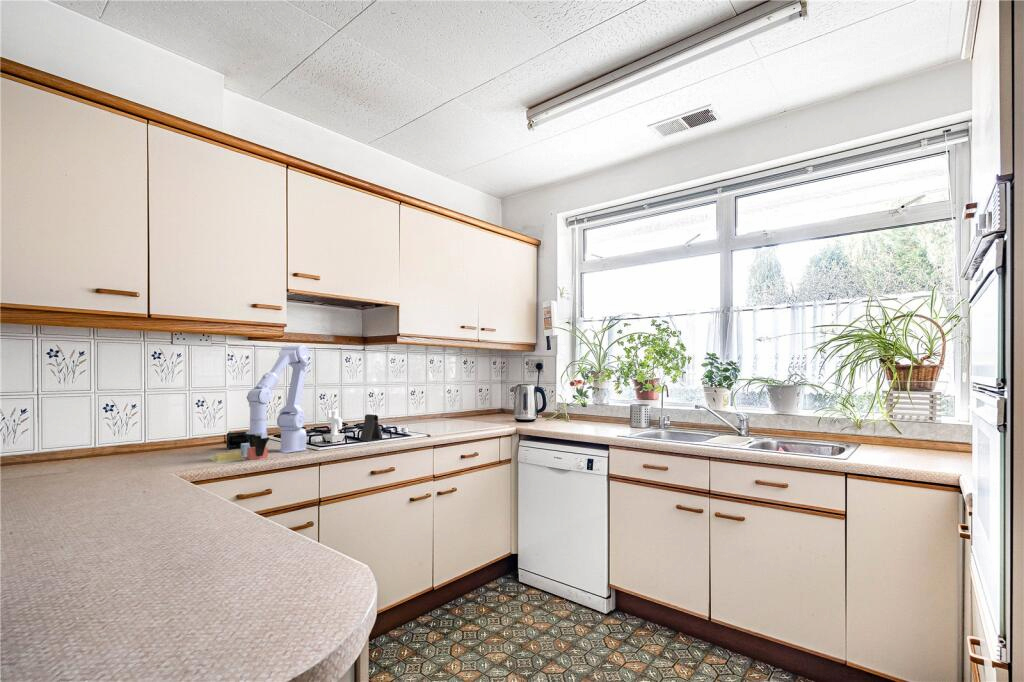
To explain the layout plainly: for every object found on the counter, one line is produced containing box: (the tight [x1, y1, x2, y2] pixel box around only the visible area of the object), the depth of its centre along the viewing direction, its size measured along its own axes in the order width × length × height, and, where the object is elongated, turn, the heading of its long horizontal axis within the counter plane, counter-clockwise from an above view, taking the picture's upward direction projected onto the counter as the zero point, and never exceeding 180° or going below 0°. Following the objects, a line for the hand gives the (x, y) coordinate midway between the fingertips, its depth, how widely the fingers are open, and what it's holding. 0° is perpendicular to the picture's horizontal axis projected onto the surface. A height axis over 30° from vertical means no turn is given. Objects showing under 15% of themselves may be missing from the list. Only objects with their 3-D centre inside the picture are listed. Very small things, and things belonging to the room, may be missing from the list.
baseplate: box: [210, 457, 246, 464], centre depth 193 cm, size 10×10×1 cm
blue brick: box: [240, 443, 250, 457], centre depth 202 cm, size 4×4×4 cm
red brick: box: [246, 445, 268, 461], centre depth 194 cm, size 6×4×4 cm, turn 135°
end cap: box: [226, 431, 251, 451], centre depth 217 cm, size 10×7×7 cm
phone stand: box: [359, 413, 383, 442], centre depth 241 cm, size 9×6×12 cm, turn 148°
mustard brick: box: [213, 450, 243, 461], centre depth 193 cm, size 8×5×2 cm, turn 135°
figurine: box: [322, 409, 346, 442], centre depth 233 cm, size 7×9×15 cm
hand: (257, 455), depth 194 cm, fingers open, 4 cm apart
